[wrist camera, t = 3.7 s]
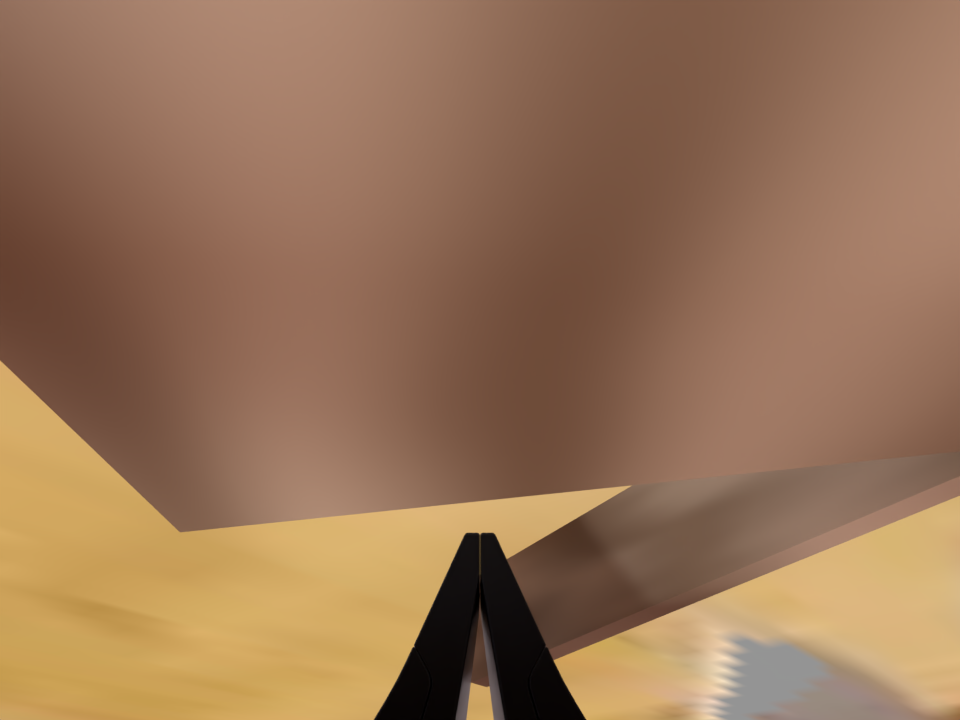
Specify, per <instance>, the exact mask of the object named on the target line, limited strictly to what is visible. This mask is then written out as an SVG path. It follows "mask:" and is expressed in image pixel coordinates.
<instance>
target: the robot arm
mask: <svg viewBox="0 0 960 720" xmlns="http://www.w3.org/2000/svg"><path fill="white" fill-rule="evenodd" d="M479 610H481V620H482V628H483V636H484V645H485V653H486V661H487V669H488V677H489V686H490V694H491V702H492V710H493V718H494V720H586V718H585V717H584V715H583V713H582V712H581V710H580V708H579V707H578V705H577V703H576V702H575V700H574V698H573V696H572V695H571V693H570V691H569V689H568V688H567V686H566V684H565V682H564V680H563V678H562V676H561V674H560V672H559V670H558V668H557V666H556V664H555V662H554V660H553V658H552V656H551V654H550V652H549V649H548V648H547V647H546V644H545V641H544V639H543V637H542V635H541V633H540V630H539V628H538V626H537V624H536V622H535V620H534V617H533V615H532V613H531V611H530V609H529V607H528V604H527V602H526V600H525V598H524V596H523V593H522V591H521V589H520V587H519V585H518V583H517V580H516V578H515V576H514V574H513V572H512V569H511V567H510V565H509V563H508V561H507V559H506V556H505V554H504V552H503V550H502V548H501V546H500V543H499V541H498V539H497V537H496V535H495V534H494V533H481V534H479V533H466V534H465V535H464V537H463V539H462V541H461V543H460V546H459V548H458V550H457V552H456V554H455V556H454V559H453V561H452V563H451V565H450V567H449V569H448V572H447V574H446V576H445V578H444V580H443V583H442V585H441V587H440V589H439V591H438V593H437V596H436V598H435V600H434V602H433V604H432V607H431V609H430V611H429V613H428V615H427V617H426V620H425V622H424V624H423V626H422V628H421V630H420V633H419V635H418V637H417V639H416V641H415V644H414V647H413V648H412V649H411V652H410V654H409V656H408V658H407V660H406V662H405V664H404V666H403V668H402V670H401V672H400V674H399V676H398V678H397V680H396V682H395V684H394V686H393V688H392V689H391V691H390V693H389V695H388V696H387V698H386V700H385V702H384V703H383V705H382V707H381V708H380V710H379V712H378V713H377V715H376V717H375V718H374V720H466V718H467V710H468V702H469V694H470V686H471V677H472V669H473V661H474V653H475V645H476V636H477V628H478V620H479Z"/></svg>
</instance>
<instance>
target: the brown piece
mask: <svg viewBox="0 0 960 720" xmlns="http://www.w3.org/2000/svg"><path fill="white" fill-rule="evenodd" d="M0 361H1V362H2V363H3V364H4V365H5V366H7V367H8V368H9V369H10V370H11V371H12V372H13V373H14V374H15V375H16V376H17V377H18V378H19V379H20V380H21V381H22V382H23V383H24V384H25V385H26V386H27V387H28V388H30V389H31V390H32V391H33V392H34V393H35V394H36V395H37V396H38V397H39V398H40V399H41V400H42V401H43V402H44V403H45V404H46V405H47V406H48V407H49V408H50V409H51V410H53V411H54V412H55V413H56V414H57V415H58V416H59V417H60V418H61V419H62V420H63V421H64V422H65V423H66V424H67V425H68V426H69V427H70V428H71V429H72V430H73V431H74V432H76V433H77V434H78V435H79V436H80V437H81V438H82V439H83V440H84V441H85V442H86V443H87V444H88V445H89V446H90V447H91V448H92V449H93V450H94V451H95V452H96V453H97V454H99V455H100V456H101V457H102V458H103V459H104V460H105V461H106V462H107V463H108V464H109V465H110V466H111V467H112V468H113V469H114V470H115V471H116V472H117V473H118V474H119V475H120V476H122V477H123V478H124V479H125V480H126V481H127V482H128V483H129V484H130V485H131V486H132V487H133V488H134V489H135V490H136V491H137V492H138V493H139V494H140V495H141V496H142V497H143V498H145V499H146V500H147V501H148V502H149V503H150V504H151V505H152V506H153V507H154V508H155V509H156V510H157V511H158V512H159V513H160V514H161V515H162V516H163V517H164V518H165V519H166V520H168V521H169V522H170V523H171V524H172V525H173V526H174V527H175V528H176V529H177V530H178V531H179V532H189V531H199V530H208V529H218V528H228V527H237V526H247V525H256V524H266V523H276V522H285V521H295V520H304V519H314V518H324V517H333V516H343V515H353V514H362V513H372V512H381V511H391V510H401V509H410V508H420V507H429V506H439V505H449V504H458V503H468V502H478V501H487V500H497V499H506V498H516V497H526V496H535V495H545V494H554V493H564V492H574V491H583V490H593V489H602V488H612V487H622V486H631V485H641V484H651V483H660V482H670V481H679V480H689V479H699V478H708V477H718V476H727V475H737V474H747V473H756V472H766V471H776V470H785V469H795V468H804V467H814V466H824V465H833V464H843V463H852V462H862V461H872V460H881V459H891V458H900V457H910V456H920V455H929V454H939V453H949V452H958V451H960V0H0Z"/></svg>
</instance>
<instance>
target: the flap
mask: <svg viewBox="0 0 960 720" xmlns="http://www.w3.org/2000/svg"><path fill="white" fill-rule="evenodd" d="M958 496H960V451H958V452H949V453H939V454H929V455H920V456H910V457H900V458H891V459H881V460H872V461H862V462H852V463H843V464H833V465H824V466H814V467H804V468H795V469H785V470H776V471H766V472H756V473H747V474H737V475H727V476H718V477H708V478H699V479H689V480H679V481H670V482H660V483H651V484H641V485H632V486H631V487H629V488H627V489H625V490H624V491H622V492H620V493H619V494H617V495H615V496H614V497H612V498H610V499H608V500H607V501H605V502H603V503H602V504H600V505H598V506H597V507H595V508H593V509H591V510H590V511H588V512H586V513H585V514H583V515H581V516H580V517H578V518H576V519H574V520H573V521H571V522H569V523H568V524H566V525H564V526H562V527H561V528H559V529H557V530H556V531H554V532H552V533H551V534H549V535H547V536H545V537H544V538H542V539H540V540H539V541H537V542H535V543H534V544H532V545H530V546H528V547H527V548H525V549H523V550H522V551H520V552H518V553H517V554H515V555H513V556H511V557H510V558H508V559H507V561H508V563H509V565H510V567H511V569H512V572H513V574H514V576H515V578H516V580H517V583H518V585H519V587H520V589H521V591H522V593H523V596H524V598H525V600H526V602H527V604H528V607H529V609H530V611H531V613H532V615H533V617H534V620H535V622H536V624H537V626H538V628H539V630H540V633H541V635H542V637H543V639H544V641H545V644H546V647H547V648H548V649H549V652H550V654H551V656H552V658H553V660H555V659H558V658H560V657H563V656H565V655H568V654H570V653H573V652H575V651H577V650H580V649H582V648H585V647H587V646H590V645H592V644H595V643H597V642H600V641H602V640H605V639H607V638H610V637H612V636H615V635H617V634H619V633H622V632H624V631H627V630H629V629H632V628H634V627H637V626H639V625H642V624H644V623H647V622H649V621H652V620H654V619H657V618H659V617H661V616H664V615H666V614H669V613H671V612H674V611H676V610H679V609H681V608H684V607H686V606H689V605H691V604H694V603H696V602H698V601H701V600H703V599H706V598H708V597H711V596H713V595H716V594H718V593H721V592H723V591H726V590H728V589H731V588H733V587H736V586H738V585H740V584H743V583H745V582H748V581H750V580H753V579H755V578H758V577H760V576H763V575H765V574H768V573H770V572H773V571H775V570H778V569H780V568H782V567H785V566H787V565H790V564H792V563H795V562H797V561H800V560H802V559H805V558H807V557H810V556H812V555H815V554H817V553H819V552H822V551H824V550H827V549H829V548H832V547H834V546H837V545H839V544H842V543H844V542H847V541H849V540H852V539H854V538H857V537H859V536H861V535H864V534H866V533H869V532H871V531H874V530H876V529H879V528H881V527H884V526H886V525H889V524H891V523H894V522H896V521H898V520H901V519H903V518H906V517H908V516H911V515H913V514H916V513H918V512H921V511H923V510H926V509H928V508H931V507H933V506H936V505H938V504H940V503H943V502H945V501H948V500H950V499H953V498H955V497H958ZM471 683H474V684H477V685H481V686H484V687H489V677H488V669H487V661H486V653H485V645H484V636H483V628H482V620H481V610H479V620H478V628H477V636H476V645H475V653H474V661H473V669H472V677H471Z"/></svg>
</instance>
